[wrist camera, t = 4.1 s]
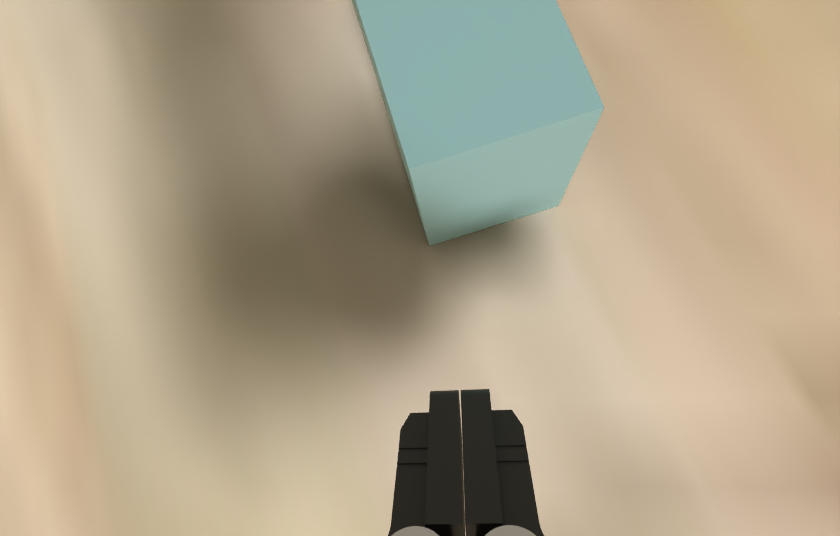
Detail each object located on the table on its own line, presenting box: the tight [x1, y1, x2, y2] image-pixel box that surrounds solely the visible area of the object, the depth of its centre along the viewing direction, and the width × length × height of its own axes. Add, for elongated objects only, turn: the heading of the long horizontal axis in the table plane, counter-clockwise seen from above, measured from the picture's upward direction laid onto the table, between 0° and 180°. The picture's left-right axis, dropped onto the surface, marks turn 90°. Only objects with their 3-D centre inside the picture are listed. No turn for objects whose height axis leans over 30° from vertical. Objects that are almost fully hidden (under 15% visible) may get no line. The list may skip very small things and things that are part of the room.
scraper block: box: [352, 0, 604, 246], centre depth 20 cm, size 6×14×8 cm, turn 16°
